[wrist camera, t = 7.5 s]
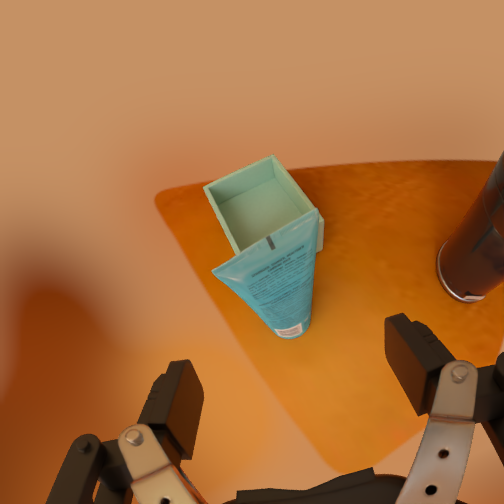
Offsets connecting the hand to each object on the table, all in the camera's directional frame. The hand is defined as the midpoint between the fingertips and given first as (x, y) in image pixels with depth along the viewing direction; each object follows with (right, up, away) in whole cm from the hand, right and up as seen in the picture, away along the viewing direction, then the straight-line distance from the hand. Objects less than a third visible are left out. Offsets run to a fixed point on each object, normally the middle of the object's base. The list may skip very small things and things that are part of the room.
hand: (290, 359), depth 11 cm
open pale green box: (+1, +7, +29) cm, 30 cm away
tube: (+3, -4, +23) cm, 24 cm away
